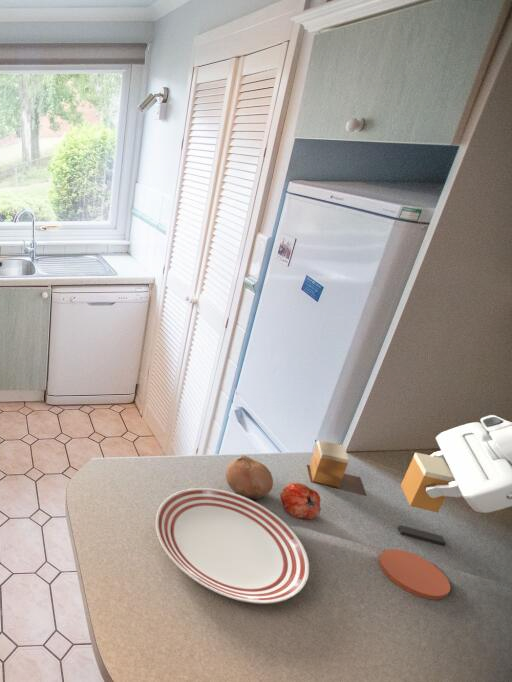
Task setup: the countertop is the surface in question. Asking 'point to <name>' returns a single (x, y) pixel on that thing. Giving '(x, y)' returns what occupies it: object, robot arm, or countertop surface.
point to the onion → (249, 478)
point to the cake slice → (425, 481)
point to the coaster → (414, 574)
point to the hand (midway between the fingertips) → (422, 479)
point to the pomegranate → (300, 501)
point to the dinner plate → (232, 545)
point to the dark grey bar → (421, 535)
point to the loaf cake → (333, 468)
